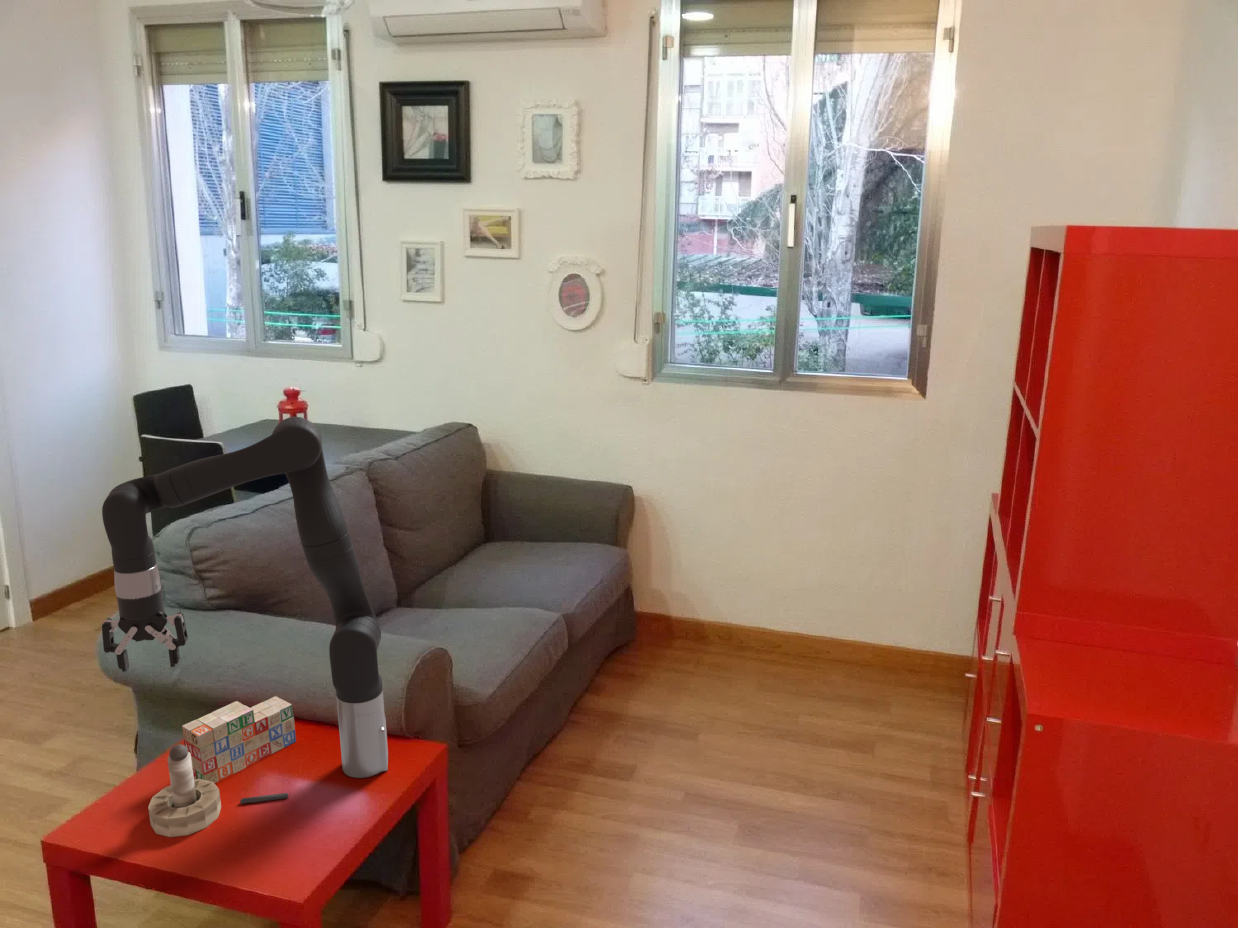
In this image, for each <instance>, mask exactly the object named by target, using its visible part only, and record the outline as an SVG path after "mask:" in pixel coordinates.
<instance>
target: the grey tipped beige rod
mask: <svg viewBox="0 0 1238 928" xmlns="http://www.w3.org/2000/svg"><path fill="white" fill-rule="evenodd" d="M168 754H169V755H168V757H167V767H168V773H169V775H168V776H169V782H170V785H171V789H172V796H173V803H174V808H183V807H187V806H189V805H192V804H194V803H195V802H197V799H196V791H195V784H194V776H193V769H192V761H191V754H190V752H188V750H187V748H186V746H184V744H181V743H179V744H175V745H174V746H172V747H171V748H170V750H169V753H168Z"/></svg>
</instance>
